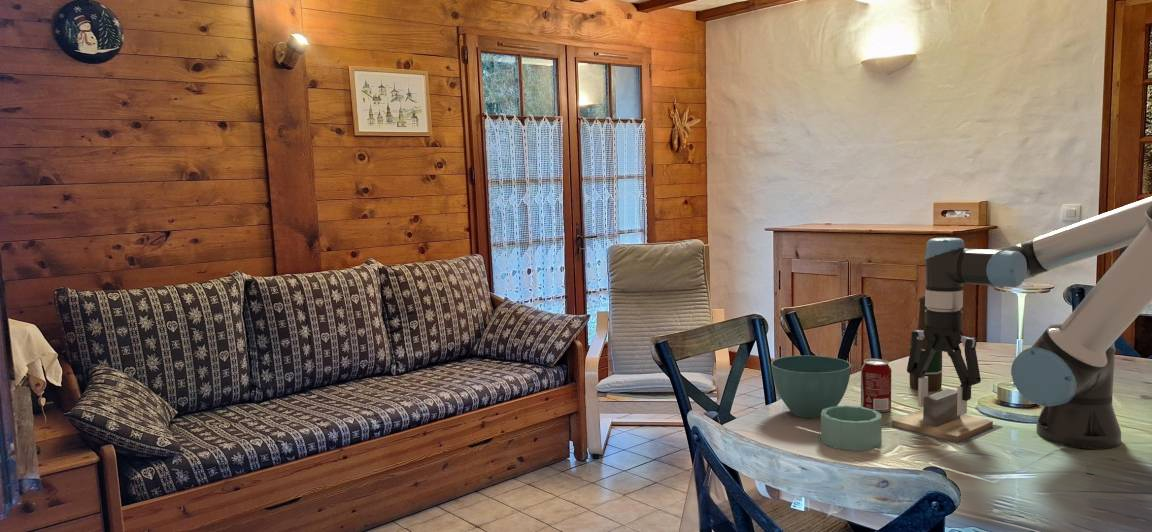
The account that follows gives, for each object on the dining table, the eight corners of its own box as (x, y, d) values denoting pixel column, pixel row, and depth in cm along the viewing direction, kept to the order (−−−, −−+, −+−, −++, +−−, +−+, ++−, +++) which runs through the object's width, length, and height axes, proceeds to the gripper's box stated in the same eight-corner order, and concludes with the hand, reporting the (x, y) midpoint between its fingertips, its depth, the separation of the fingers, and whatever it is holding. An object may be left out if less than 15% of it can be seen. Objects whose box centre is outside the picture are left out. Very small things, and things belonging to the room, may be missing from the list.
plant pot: (756, 415, 192) (756, 365, 191) (796, 398, 205) (796, 351, 204) (826, 430, 179) (826, 376, 178) (864, 411, 192) (864, 361, 191)
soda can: (893, 415, 189) (893, 365, 187) (863, 414, 190) (863, 364, 189) (888, 406, 195) (888, 358, 194) (859, 406, 197) (859, 358, 195)
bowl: (892, 441, 171) (893, 414, 170) (859, 455, 163) (859, 426, 163) (843, 428, 180) (843, 402, 180) (809, 440, 173) (809, 413, 172)
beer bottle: (948, 388, 209) (950, 297, 206) (925, 392, 206) (926, 300, 203) (925, 382, 216) (926, 293, 213) (902, 385, 213) (903, 296, 210)
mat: (1002, 428, 176) (1002, 426, 176) (960, 447, 166) (960, 445, 166) (925, 410, 191) (925, 409, 191) (881, 427, 180) (881, 425, 180)
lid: (992, 426, 177) (993, 394, 176) (957, 441, 168) (957, 408, 167) (928, 411, 189) (928, 381, 188) (891, 425, 180) (892, 394, 179)
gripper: (1001, 312, 169) (998, 416, 172) (908, 301, 186) (907, 397, 189) (983, 316, 165) (981, 424, 167) (889, 305, 182) (889, 403, 184)
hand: (942, 409), depth 178 cm, fingers open, 8 cm apart
